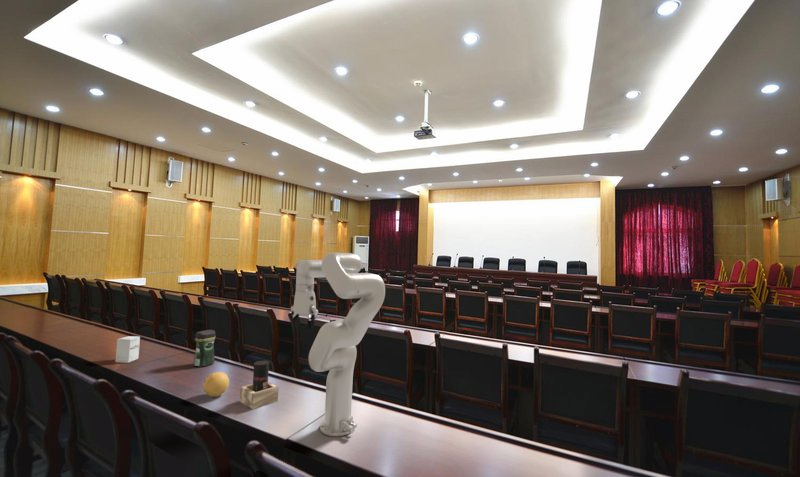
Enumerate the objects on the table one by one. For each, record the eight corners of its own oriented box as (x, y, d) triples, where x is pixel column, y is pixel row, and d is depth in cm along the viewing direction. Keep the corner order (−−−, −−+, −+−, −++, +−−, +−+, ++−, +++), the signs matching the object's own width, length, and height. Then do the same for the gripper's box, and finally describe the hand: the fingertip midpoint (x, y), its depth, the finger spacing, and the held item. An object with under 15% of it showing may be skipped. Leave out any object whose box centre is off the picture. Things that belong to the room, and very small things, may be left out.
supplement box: (128, 363, 186) (130, 339, 186) (114, 362, 186) (116, 338, 186) (138, 358, 193) (140, 336, 194) (126, 358, 193) (127, 335, 194)
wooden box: (277, 401, 146) (278, 386, 146) (252, 409, 137) (253, 394, 137) (264, 393, 153) (264, 380, 153) (239, 401, 144) (240, 386, 144)
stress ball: (228, 393, 154) (215, 376, 156) (237, 380, 150) (224, 363, 153) (208, 405, 145) (194, 387, 147) (216, 392, 141) (203, 373, 144)
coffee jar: (208, 361, 194) (210, 328, 195) (216, 363, 190) (218, 330, 191) (190, 365, 185) (192, 330, 186) (199, 368, 181) (201, 333, 182)
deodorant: (261, 402, 141) (263, 365, 142) (248, 400, 143) (250, 364, 143) (270, 397, 147) (271, 361, 148) (257, 395, 148) (259, 360, 149)
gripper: (324, 289, 147) (323, 329, 146) (299, 286, 158) (298, 324, 156) (310, 290, 141) (309, 332, 140) (285, 287, 152) (283, 327, 150)
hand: (303, 328), depth 148 cm, fingers open, 9 cm apart
